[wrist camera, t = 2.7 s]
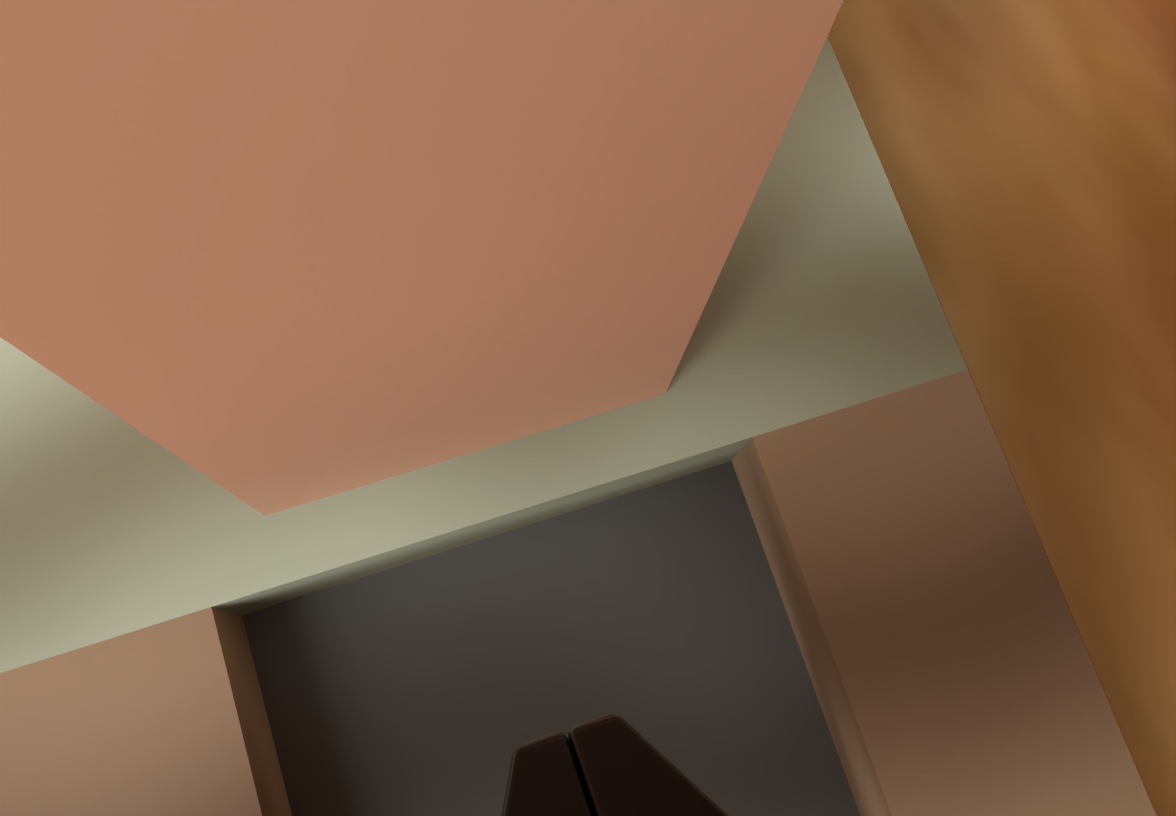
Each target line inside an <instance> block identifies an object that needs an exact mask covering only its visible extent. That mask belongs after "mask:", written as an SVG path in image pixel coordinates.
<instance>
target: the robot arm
mask: <svg viewBox="0 0 1176 816" xmlns="http://www.w3.org/2000/svg"><path fill="white" fill-rule="evenodd" d="M568 739H569V741H568ZM502 816H729V815H728V814H727V813H726V812H724V811H723V810H722V809H721V808H720V807H719V806H718V805H717V804H716V803H715V802H714V801H712V800H711V799H710V798H709V797H708V796H707V795H706V794H705V793H704V792H703V791H702V790H701V789H699V788H698V787H697V786H696V785H695V784H694V783H693V782H692V781H691V780H690V779H689V778H688V777H686V776H685V775H684V774H683V773H682V772H681V771H680V770H679V769H678V768H677V767H676V766H675V765H673V764H672V763H671V762H670V761H669V760H668V759H667V758H666V757H665V756H664V755H663V754H662V753H660V752H659V751H658V750H657V749H656V748H655V747H654V746H653V745H652V744H651V743H650V742H649V741H647V740H646V739H645V738H644V737H643V736H642V735H641V734H640V733H639V732H638V731H637V730H636V729H634V728H633V727H632V726H631V725H630V724H629V723H628V722H627V721H626V720H625V719H623V718H622V717H620V716H619V715H617V714H613V713H611V714H606V715H603V716H600V717H597V718H595V719H592V720H589V721H586V722H583V723H580V724H577V725H574V726H573V727H572V728H571V729H570V730H569V733H568V738H567V736H566V735H565V734H564V733H562V732H554V733H551V734H548V735H545V736H542V737H539V738H536V739H533V740H530V741H527V742H525V743H522V744H520V745H518V746H517V747H516V748H515V750H514V752H513V755H512V759H511V764H510V770H509V776H508V782H507V787H506V793H505V799H504V805H503V810H502Z"/></svg>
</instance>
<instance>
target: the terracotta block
mask: <svg viewBox="0 0 1176 816" xmlns="http://www.w3.org/2000/svg"><path fill="white" fill-rule="evenodd" d="M843 1H844V0H0V337H1V338H2V339H4V340H5V341H7V342H8V343H10V344H11V345H13V346H14V347H16V348H17V349H19V350H20V351H22V352H23V353H25V354H26V355H28V356H29V357H30V358H32V359H33V360H35V361H36V362H38V363H39V364H41V365H42V366H44V367H45V368H47V369H48V370H50V371H51V372H53V373H54V374H56V375H57V376H59V377H60V378H62V379H63V380H65V381H66V382H67V383H69V384H70V385H72V386H73V387H75V388H76V389H78V390H79V391H81V392H82V393H84V394H85V395H87V396H88V397H90V398H91V399H93V400H94V401H96V402H97V403H99V404H100V405H102V406H103V407H105V408H106V409H107V410H109V411H110V412H112V413H113V414H115V415H116V416H118V417H119V418H121V419H122V420H124V421H125V422H127V423H128V424H130V425H131V426H133V427H134V428H136V429H137V430H139V431H140V432H142V433H143V434H144V435H146V436H147V437H149V438H150V439H152V440H153V441H155V442H156V443H158V444H159V445H161V446H162V447H164V448H165V449H167V450H168V451H170V452H171V453H173V454H174V455H176V456H177V457H179V458H180V459H182V460H183V461H184V462H186V463H187V464H189V465H190V466H192V467H193V468H195V469H196V470H198V471H199V472H201V473H202V474H204V475H205V476H207V477H208V478H210V479H211V480H213V481H214V482H216V483H217V484H219V485H220V486H221V487H223V488H224V489H226V490H227V491H229V492H230V493H232V494H233V495H235V496H236V497H238V498H239V499H241V500H242V501H244V502H245V503H247V504H248V505H250V506H251V507H253V508H254V509H256V510H257V511H259V512H260V513H261V514H263V515H264V516H266V515H269V514H273V513H276V512H279V511H282V510H286V509H289V508H292V507H295V506H299V505H302V504H305V503H309V502H312V501H315V500H318V499H322V498H325V497H328V496H331V495H335V494H338V493H341V492H345V491H348V490H351V489H354V488H358V487H361V486H364V485H368V484H371V483H374V482H377V481H381V480H384V479H387V478H390V477H394V476H397V475H400V474H404V473H407V472H410V471H413V470H417V469H420V468H423V467H426V466H430V465H433V464H436V463H440V462H443V461H446V460H449V459H453V458H456V457H459V456H462V455H466V454H469V453H472V452H476V451H479V450H482V449H485V448H489V447H492V446H495V445H499V444H502V443H505V442H508V441H512V440H515V439H518V438H521V437H525V436H528V435H531V434H535V433H538V432H541V431H544V430H548V429H551V428H554V427H557V426H561V425H564V424H567V423H571V422H574V421H577V420H580V419H584V418H587V417H590V416H593V415H597V414H600V413H603V412H607V411H610V410H613V409H616V408H620V407H623V406H626V405H630V404H633V403H636V402H639V401H643V400H646V399H649V398H652V397H656V396H659V395H662V394H666V391H667V389H668V387H669V385H670V383H671V380H672V378H673V376H674V374H675V372H676V369H677V367H678V365H679V363H680V360H681V358H682V356H683V354H684V352H685V349H686V347H687V345H688V343H689V341H690V338H691V336H692V334H693V332H694V330H695V327H696V325H697V323H698V321H699V319H700V316H701V314H702V312H703V310H704V308H705V305H706V303H707V301H708V299H709V297H710V294H711V292H712V290H713V288H714V286H715V283H716V281H717V279H718V277H719V275H720V272H721V270H722V268H723V266H724V263H725V261H726V259H727V257H728V255H729V252H730V250H731V248H732V246H733V244H734V241H735V239H736V237H737V235H738V233H739V230H740V228H741V226H742V224H743V222H744V219H745V217H746V215H747V213H748V211H749V208H750V206H751V204H752V202H753V200H754V197H755V195H756V193H757V191H758V189H759V186H760V184H761V182H762V180H763V177H764V175H765V173H766V171H767V169H768V166H769V164H770V162H771V160H772V158H773V155H774V153H775V151H776V149H777V147H778V144H779V142H780V140H781V138H782V136H783V133H784V131H785V129H786V127H787V125H788V122H789V120H790V118H791V116H792V114H793V111H794V109H795V107H796V105H797V103H798V100H799V98H800V96H801V94H802V92H803V89H804V87H805V85H806V83H807V80H808V78H809V76H810V74H811V72H812V69H813V67H814V65H815V63H816V61H817V58H818V56H819V54H820V52H821V50H822V47H823V45H824V43H825V41H826V39H827V36H828V34H829V32H830V30H831V28H832V25H833V23H834V21H835V19H836V17H837V14H838V12H839V10H840V8H841V6H842V3H843Z"/></svg>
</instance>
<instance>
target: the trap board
mask: <svg viewBox="0 0 1176 816" xmlns="http://www.w3.org/2000/svg"><path fill="white" fill-rule="evenodd" d="M611 713H613V714H617V715H619V716H620V717H622V718H623V719H625V720H626V721H627V722H628V723H629V724H630V725H631V726H632V727H633V728H634V729H636V730H637V731H638V732H639V733H640V734H641V735H642V736H643V737H644V738H645V739H646V740H647V741H649V742H650V743H651V744H652V745H653V746H654V747H655V748H656V749H657V750H658V751H659V752H660V753H662V754H663V755H664V756H665V757H666V758H667V759H668V760H669V761H670V762H671V763H672V764H673V765H675V766H676V767H677V768H678V769H679V770H680V771H681V772H682V773H683V774H684V775H685V776H686V777H688V778H689V779H690V780H691V781H692V782H693V783H694V784H695V785H696V786H697V787H698V788H699V789H701V790H702V791H703V792H704V793H705V794H706V795H707V796H708V797H709V798H710V799H711V800H712V801H714V802H715V803H716V804H717V805H718V806H719V807H720V808H721V809H722V810H723V811H724V812H726V813H727V814H728V815H729V816H1156V813H1155V811H1154V808H1153V806H1152V804H1151V801H1150V799H1149V797H1148V794H1147V792H1146V790H1145V787H1144V785H1143V782H1142V780H1141V778H1140V775H1139V773H1138V771H1137V768H1136V766H1135V763H1134V761H1133V759H1132V756H1131V754H1130V752H1129V749H1128V747H1127V745H1126V742H1125V740H1124V737H1123V735H1122V733H1121V730H1120V728H1119V726H1118V723H1117V721H1116V718H1115V716H1114V714H1113V711H1112V709H1111V707H1110V704H1109V702H1108V699H1107V697H1106V695H1105V692H1104V690H1103V688H1102V685H1101V683H1100V681H1099V678H1098V676H1097V673H1096V671H1095V669H1094V666H1093V664H1092V662H1091V659H1090V657H1089V654H1088V652H1087V650H1086V647H1085V645H1084V643H1083V640H1082V638H1081V636H1080V633H1079V631H1078V628H1077V626H1076V624H1075V621H1074V619H1073V617H1072V614H1071V612H1070V609H1069V607H1068V605H1067V602H1066V600H1065V598H1064V595H1063V593H1062V590H1061V588H1060V586H1059V583H1058V581H1057V579H1056V576H1055V574H1054V572H1053V569H1052V567H1051V564H1050V562H1049V560H1048V557H1047V555H1046V553H1045V550H1044V548H1043V545H1042V543H1041V541H1040V538H1039V536H1038V534H1037V531H1036V529H1035V527H1034V524H1033V522H1032V519H1031V517H1030V515H1029V512H1028V510H1027V508H1026V505H1025V503H1024V500H1023V498H1022V496H1021V493H1020V491H1019V489H1018V486H1017V484H1016V481H1015V479H1014V477H1013V474H1012V472H1011V470H1010V467H1009V465H1008V463H1007V460H1006V458H1005V455H1004V453H1003V451H1002V448H1001V446H1000V444H999V441H998V439H997V436H996V434H995V432H994V429H993V427H992V425H991V422H990V420H989V418H988V415H987V413H986V410H985V408H984V406H983V403H982V401H981V399H980V396H979V394H978V391H977V389H976V387H975V384H974V382H973V380H972V377H971V375H970V373H969V370H968V368H967V365H966V363H965V361H964V358H963V356H962V354H961V351H960V349H959V346H958V344H957V342H956V339H955V337H954V335H953V332H952V330H951V327H950V325H949V323H948V320H947V318H946V316H945V313H944V311H943V309H942V306H941V304H940V301H939V299H938V297H937V294H936V292H935V290H934V287H933V285H932V282H931V280H930V278H929V275H928V273H927V271H926V268H925V266H924V264H923V261H922V259H921V256H920V254H919V252H918V249H917V247H916V245H915V242H914V240H913V237H912V235H911V233H910V230H909V228H908V226H907V223H906V221H905V218H904V216H903V214H902V211H901V209H900V207H899V204H898V202H897V200H896V197H895V195H894V192H893V190H892V188H891V185H890V183H889V181H888V178H887V176H886V173H885V171H884V169H883V166H882V164H881V162H880V159H879V157H878V155H877V152H876V150H875V147H874V145H873V143H872V140H871V138H870V136H869V133H868V131H867V128H866V126H865V124H864V121H863V119H862V117H861V114H860V112H859V109H858V107H857V105H856V102H855V100H854V98H853V95H852V93H851V91H850V88H849V86H848V83H847V81H846V79H845V76H844V74H843V72H842V69H841V67H840V64H839V62H838V60H837V57H836V55H835V53H834V50H833V48H832V46H831V43H830V41H829V38H828V36H827V39H826V41H825V43H824V45H823V47H822V50H821V52H820V54H819V56H818V58H817V61H816V63H815V65H814V67H813V69H812V72H811V74H810V76H809V78H808V80H807V83H806V85H805V87H804V89H803V92H802V94H801V96H800V98H799V100H798V103H797V105H796V107H795V109H794V111H793V114H792V116H791V118H790V120H789V122H788V125H787V127H786V129H785V131H784V133H783V136H782V138H781V140H780V142H779V144H778V147H777V149H776V151H775V153H774V155H773V158H772V160H771V162H770V164H769V166H768V169H767V171H766V173H765V175H764V177H763V180H762V182H761V184H760V186H759V189H758V191H757V193H756V195H755V197H754V200H753V202H752V204H751V206H750V208H749V211H748V213H747V215H746V217H745V219H744V222H743V224H742V226H741V228H740V230H739V233H738V235H737V237H736V239H735V241H734V244H733V246H732V248H731V250H730V252H729V255H728V257H727V259H726V261H725V263H724V266H723V268H722V270H721V272H720V275H719V277H718V279H717V281H716V283H715V286H714V288H713V290H712V292H711V294H710V297H709V299H708V301H707V303H706V305H705V308H704V310H703V312H702V314H701V316H700V319H699V321H698V323H697V325H696V327H695V330H694V332H693V334H692V336H691V338H690V341H689V343H688V345H687V347H686V349H685V352H684V354H683V356H682V358H681V360H680V363H679V365H678V367H677V369H676V372H675V374H674V376H673V378H672V380H671V383H670V385H669V387H668V389H667V391H666V394H662V395H659V396H656V397H652V398H649V399H646V400H643V401H639V402H636V403H633V404H630V405H626V406H623V407H620V408H616V409H613V410H610V411H607V412H603V413H600V414H597V415H593V416H590V417H587V418H584V419H580V420H577V421H574V422H571V423H567V424H564V425H561V426H557V427H554V428H551V429H548V430H544V431H541V432H538V433H535V434H531V435H528V436H525V437H521V438H518V439H515V440H512V441H508V442H505V443H502V444H499V445H495V446H492V447H489V448H485V449H482V450H479V451H476V452H472V453H469V454H466V455H462V456H459V457H456V458H453V459H449V460H446V461H443V462H440V463H436V464H433V465H430V466H426V467H423V468H420V469H417V470H413V471H410V472H407V473H404V474H400V475H397V476H394V477H390V478H387V479H384V480H381V481H377V482H374V483H371V484H368V485H364V486H361V487H358V488H354V489H351V490H348V491H345V492H341V493H338V494H335V495H331V496H328V497H325V498H322V499H318V500H315V501H312V502H309V503H305V504H302V505H299V506H295V507H292V508H289V509H286V510H282V511H279V512H276V513H273V514H269V515H266V516H264V515H263V514H261V513H260V512H259V511H257V510H256V509H254V508H253V507H251V506H250V505H248V504H247V503H245V502H244V501H242V500H241V499H239V498H238V497H236V496H235V495H233V494H232V493H230V492H229V491H227V490H226V489H224V488H223V487H221V486H220V485H219V484H217V483H216V482H214V481H213V480H211V479H210V478H208V477H207V476H205V475H204V474H202V473H201V472H199V471H198V470H196V469H195V468H193V467H192V466H190V465H189V464H187V463H186V462H184V461H183V460H182V459H180V458H179V457H177V456H176V455H174V454H173V453H171V452H170V451H168V450H167V449H165V448H164V447H162V446H161V445H159V444H158V443H156V442H155V441H153V440H152V439H150V438H149V437H147V436H146V435H144V434H143V433H142V432H140V431H139V430H137V429H136V428H134V427H133V426H131V425H130V424H128V423H127V422H125V421H124V420H122V419H121V418H119V417H118V416H116V415H115V414H113V413H112V412H110V411H109V410H107V409H106V408H105V407H103V406H102V405H100V404H99V403H97V402H96V401H94V400H93V399H91V398H90V397H88V396H87V395H85V394H84V393H82V392H81V391H79V390H78V389H76V388H75V387H73V386H72V385H70V384H69V383H67V382H66V381H65V380H63V379H62V378H60V377H59V376H57V375H56V374H54V373H53V372H51V371H50V370H48V369H47V368H45V367H44V366H42V365H41V364H39V363H38V362H36V361H35V360H33V359H32V358H30V357H29V356H28V355H26V354H25V353H23V352H22V351H20V350H19V349H17V348H16V347H14V346H13V345H11V344H10V343H8V342H7V341H5V340H4V339H2V338H1V337H0V816H502V810H503V805H504V799H505V793H506V787H507V782H508V776H509V770H510V764H511V759H512V755H513V752H514V750H515V748H516V747H517V746H518V745H520V744H522V743H525V742H527V741H530V740H533V739H536V738H539V737H542V736H545V735H548V734H551V733H554V732H562V733H564V734H565V735H566V736H567V738H568V733H569V730H570V729H571V728H572V727H573V726H574V725H577V724H580V723H583V722H586V721H589V720H592V719H595V718H597V717H600V716H603V715H606V714H611ZM568 741H569V739H568Z"/></svg>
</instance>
